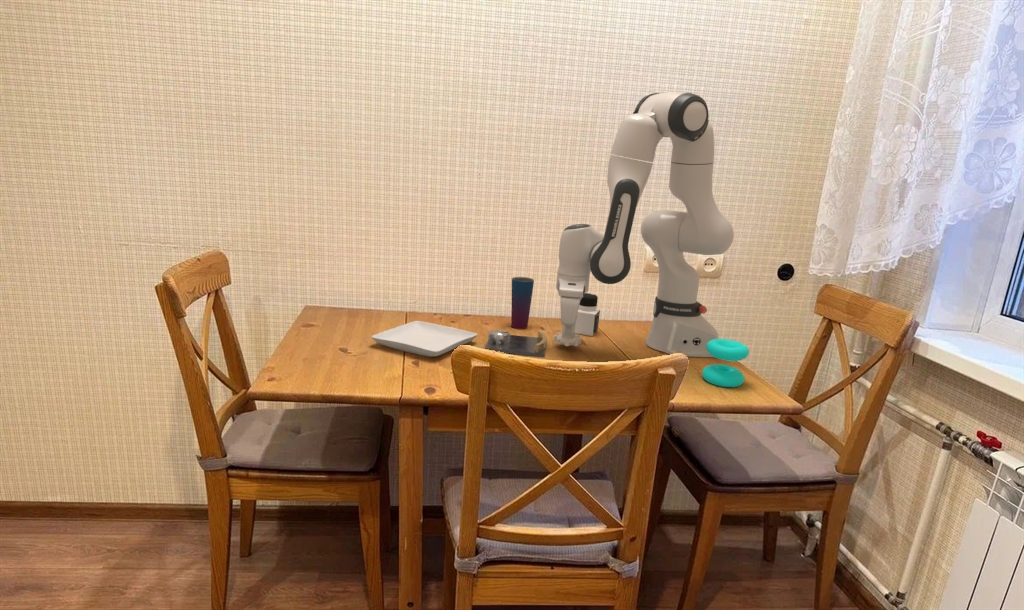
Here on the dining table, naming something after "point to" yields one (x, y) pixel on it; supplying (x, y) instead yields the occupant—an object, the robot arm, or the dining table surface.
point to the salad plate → (424, 338)
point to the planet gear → (567, 338)
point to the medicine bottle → (587, 315)
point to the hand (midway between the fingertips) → (568, 332)
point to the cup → (521, 301)
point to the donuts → (725, 373)
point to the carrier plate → (516, 343)
